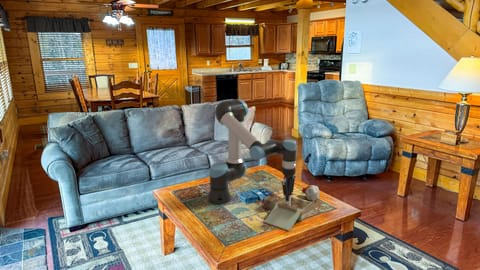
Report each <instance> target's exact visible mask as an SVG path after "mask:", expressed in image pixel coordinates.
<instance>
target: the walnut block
mask: <svg viewBox="0 0 480 270" xmlns="http://www.w3.org/2000/svg"><path fill="white" fill-rule="evenodd" d="M277 201H278V197H276V196H272V195H268V196H266V197H265V198H263V203H262V204H263V209H266V210H270V211H272V210H273V209H274V203H276V202H277Z"/></svg>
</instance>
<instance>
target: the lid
mask: <svg viewBox="0 0 480 270" xmlns="http://www.w3.org/2000/svg"><path fill="white" fill-rule="evenodd" d="M270 211H271V212H269V214H268V216H267V217H266V219H265V220H264V223H265V224H268V225H271V226H274V227H276V228H279V229H282V230H285V231H288V232H290V231H291V229H292V228H293V227H294V225H295V224H296V222H297V219H298V217H299V215H300V214H301V211H302V210H301V209H298V208H296V207H293V206H289V205H286V204H283V203H277V204H276V206H275V207H274V209H273V210H270Z"/></svg>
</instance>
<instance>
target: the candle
mask: <svg viewBox="0 0 480 270" xmlns="http://www.w3.org/2000/svg"><path fill="white" fill-rule="evenodd" d="M301 193H303V194H304V196H306V199H307V201H308V200H309V201H311V202H313V201H316V200H319V198H320V189H319V187H318V186H317V185H314V184H311V185H307V186H306V187H302V189H301Z"/></svg>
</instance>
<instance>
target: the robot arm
mask: <svg viewBox="0 0 480 270" xmlns="http://www.w3.org/2000/svg"><path fill="white" fill-rule="evenodd" d="M214 109H215V110H214V116H215V118H216V120H217V122H218V123H220V125H221V126H225V127H226V128H227V130H228V132H227V133H228V136H227V137H228V138H227V140H228V143H227V144H228V148H227V150H228V151H227V152H228V153H227V156H228V157H227V158H226V159H225V163H223V162H220V163H215V164H213V165H212V166H210V168H209V185H210V186H209V187H210V189H209V191H208V195H207V201H208V202H209V204H210V203H211V204H213V205H224V204H227V203H229V202H231V200H232V195H231V192H230V191H229V189H230V188H229V183H230V182H232V181H235V180H239V179H241V178H243V177H244V176H245V175H246V173H247V171H248V170H247V169H248V167H247V165H246V162H245V161H244V159H243V158H242V144H243V145H244V147H245V148H246V149H248V151H249V152H248V153H249V156H250V158H251V159H252V160H255V161H258V160H262V159H264V158H268V157H270V156H274V155H278V156H281V157H282V159H281V160H282V163H281V165H282V167H281V169H282V171H281V173H282V175H283V181H281V185H282V187H281V188H282V194H283V197H284V196H286V199H285V204H286V205H289V206H291V196H293V193H294V189H295V181H296V178H297V177H296V173H297V172H296V171H297V168H296V166H297V149H298V148H297V141H296V140H294V139H284V140H283V141H280V140H276V139H267V141H266V142H265V143H262V142H261V141H260V140H259V139H258V138H257V137H256V136H254V134H252V133H251V132H250V131H249V130H248V128H246V127H245V125H243V123H244V121H245V117H246V116H247V115H248V113H249V107H248V105H247V103H246V102H245V100H243V99H236V98H235V99H230V100H223V101H221V102H219V103H218V104H217V105H216V106H215V108H214Z"/></svg>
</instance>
